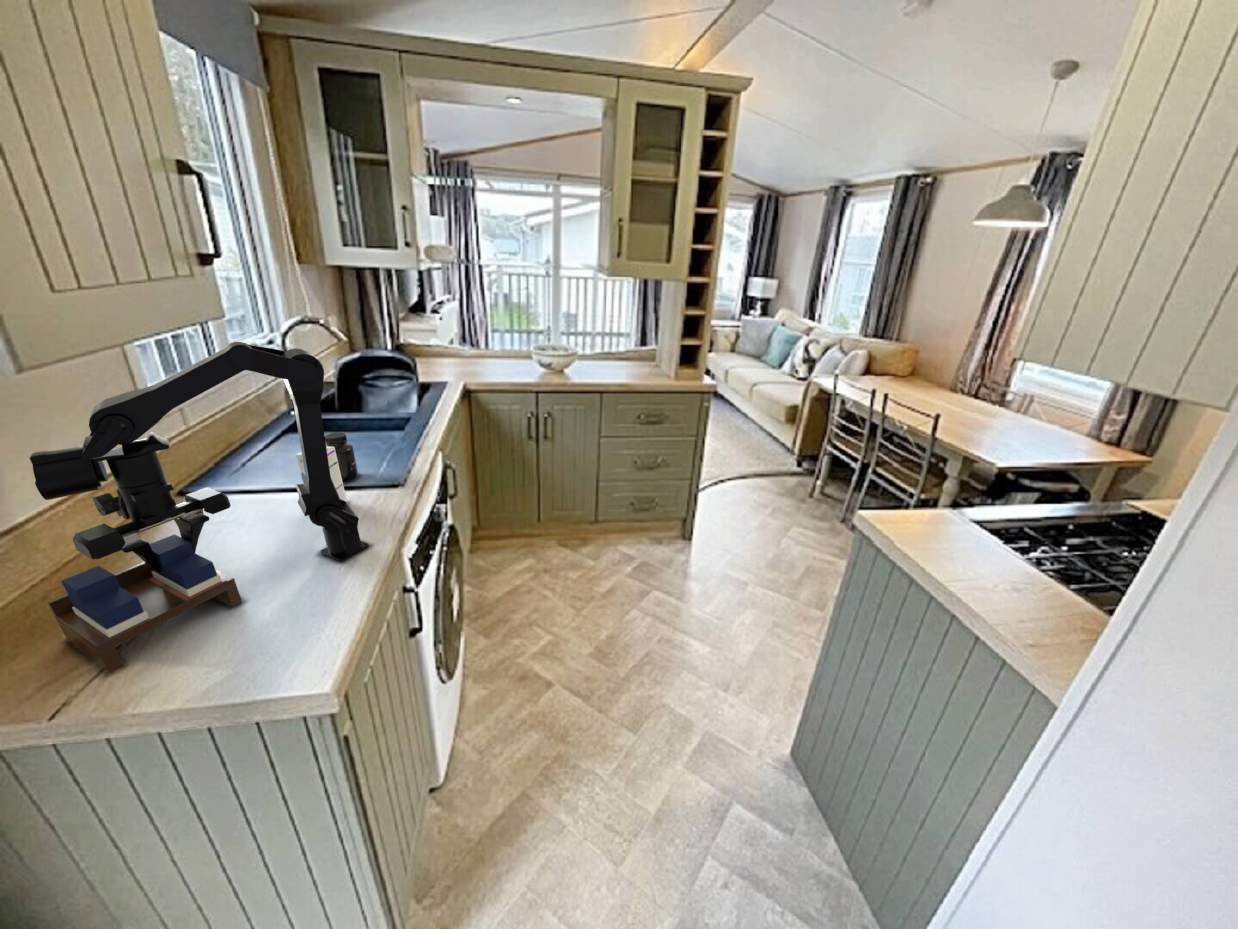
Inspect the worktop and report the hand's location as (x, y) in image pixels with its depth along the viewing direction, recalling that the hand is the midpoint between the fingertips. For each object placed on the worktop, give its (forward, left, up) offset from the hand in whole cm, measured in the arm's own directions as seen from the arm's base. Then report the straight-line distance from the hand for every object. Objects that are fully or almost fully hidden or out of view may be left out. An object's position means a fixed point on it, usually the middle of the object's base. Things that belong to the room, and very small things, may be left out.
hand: (175, 564), depth 87 cm
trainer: (-3, 0, -2) cm, 3 cm away
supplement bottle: (+20, -45, -7) cm, 50 cm away
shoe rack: (-2, +5, -7) cm, 9 cm away
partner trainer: (-3, +10, -2) cm, 11 cm away
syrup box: (+9, -33, -7) cm, 35 cm away
